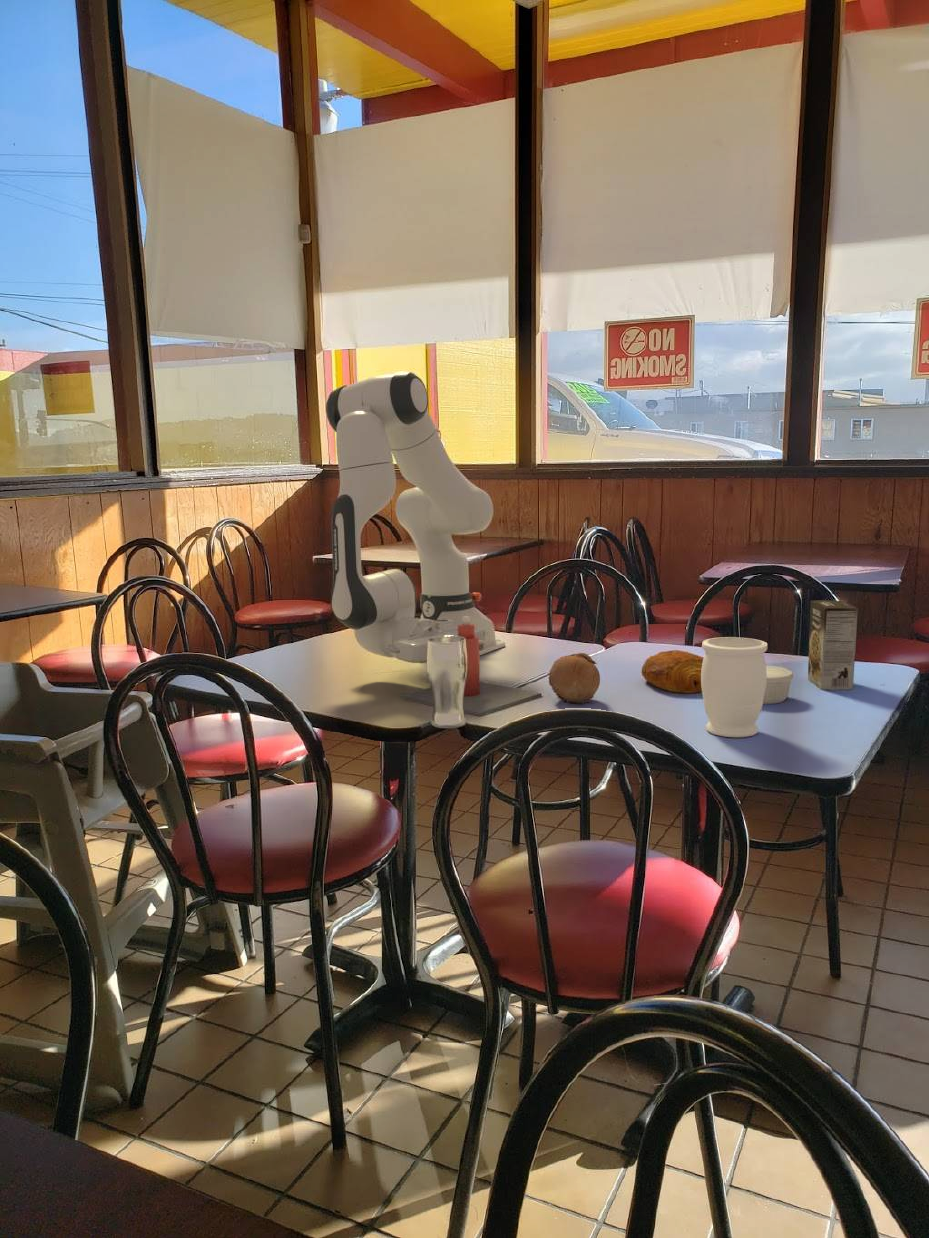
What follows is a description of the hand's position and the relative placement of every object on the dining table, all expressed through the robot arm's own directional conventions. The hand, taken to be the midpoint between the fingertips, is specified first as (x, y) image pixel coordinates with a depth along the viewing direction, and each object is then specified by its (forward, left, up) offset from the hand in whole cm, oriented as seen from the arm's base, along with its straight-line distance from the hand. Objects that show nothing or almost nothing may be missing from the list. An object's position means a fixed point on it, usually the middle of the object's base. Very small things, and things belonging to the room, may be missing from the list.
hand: (470, 649), depth 182 cm
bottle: (0, -1, -9) cm, 9 cm away
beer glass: (+16, +9, -10) cm, 21 cm away
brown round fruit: (-10, +17, -10) cm, 22 cm away
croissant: (-33, +26, -10) cm, 44 cm away
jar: (-10, +49, -10) cm, 51 cm away
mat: (0, 0, -9) cm, 10 cm away
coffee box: (-51, +49, -10) cm, 72 cm away
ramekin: (-33, +43, -10) cm, 55 cm away
